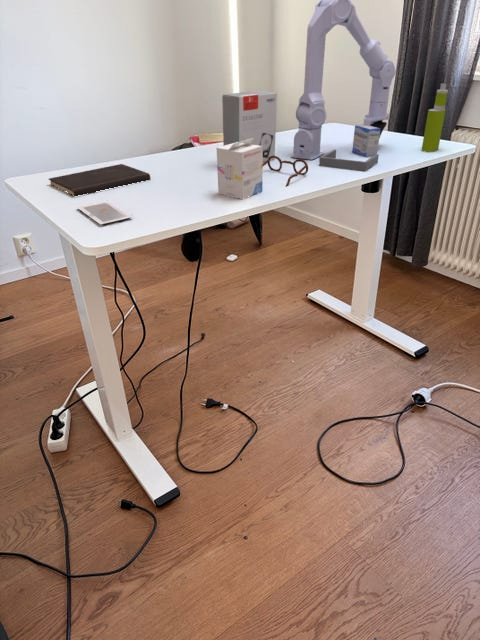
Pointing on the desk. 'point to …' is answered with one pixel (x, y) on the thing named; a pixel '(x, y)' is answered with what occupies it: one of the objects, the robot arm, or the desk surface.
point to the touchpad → (104, 212)
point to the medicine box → (366, 140)
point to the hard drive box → (251, 119)
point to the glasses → (288, 163)
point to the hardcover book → (99, 179)
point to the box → (347, 162)
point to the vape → (435, 122)
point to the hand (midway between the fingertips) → (373, 144)
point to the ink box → (240, 169)
